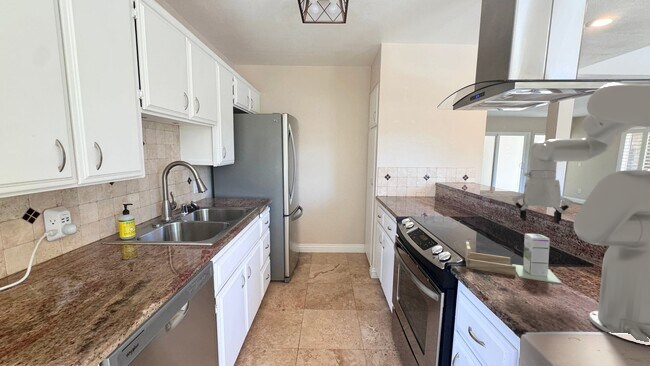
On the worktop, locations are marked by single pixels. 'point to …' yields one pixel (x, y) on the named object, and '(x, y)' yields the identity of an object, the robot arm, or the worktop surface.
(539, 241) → the syrup box
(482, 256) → the frame
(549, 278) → the mat
